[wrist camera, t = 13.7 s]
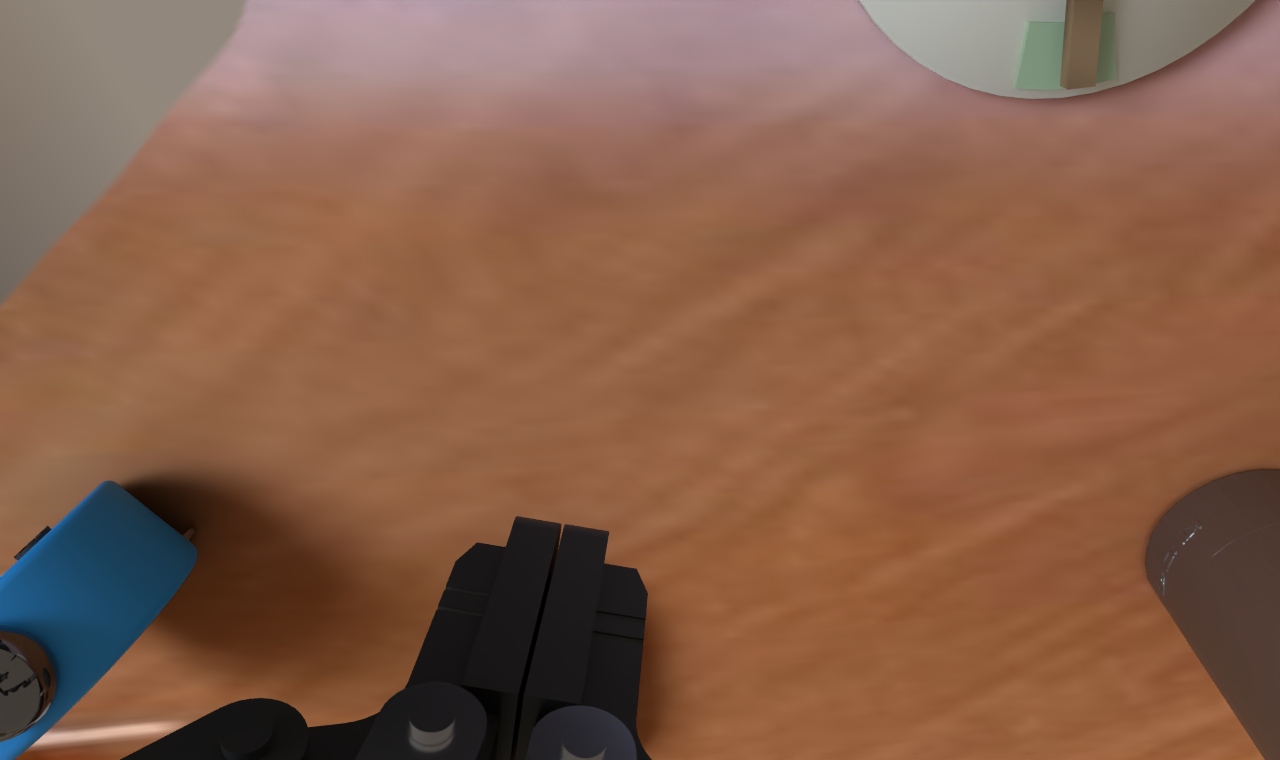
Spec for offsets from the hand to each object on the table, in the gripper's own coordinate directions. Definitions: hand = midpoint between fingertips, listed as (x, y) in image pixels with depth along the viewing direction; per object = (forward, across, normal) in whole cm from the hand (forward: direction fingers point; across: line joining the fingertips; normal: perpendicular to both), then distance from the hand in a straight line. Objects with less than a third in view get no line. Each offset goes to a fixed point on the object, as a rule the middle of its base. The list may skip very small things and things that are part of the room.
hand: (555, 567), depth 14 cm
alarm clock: (+27, +25, +25) cm, 45 cm away
